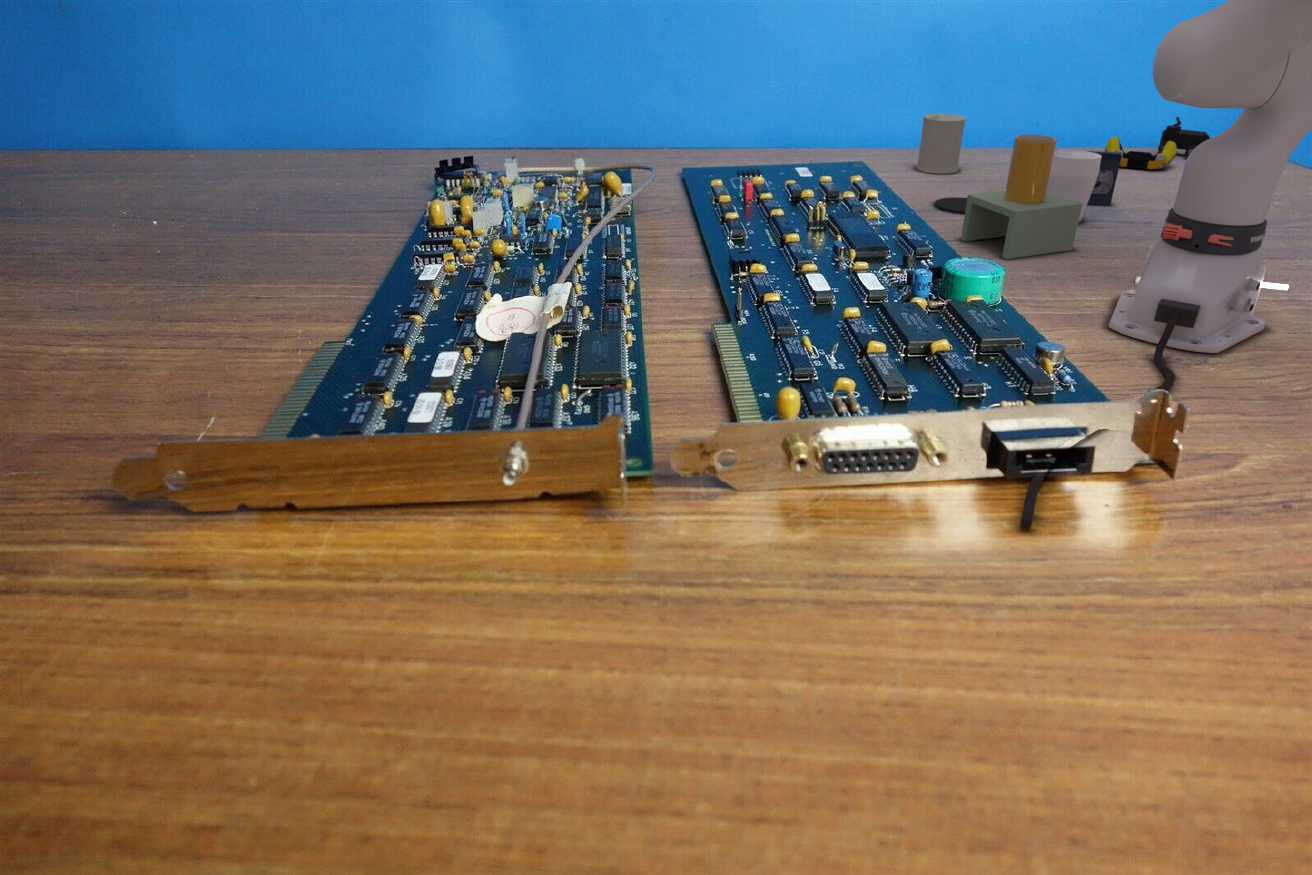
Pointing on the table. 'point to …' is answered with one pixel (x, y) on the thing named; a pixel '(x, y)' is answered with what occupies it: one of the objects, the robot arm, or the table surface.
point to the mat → (952, 204)
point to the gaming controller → (1143, 155)
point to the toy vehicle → (1182, 137)
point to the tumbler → (1030, 168)
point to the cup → (1074, 175)
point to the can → (940, 143)
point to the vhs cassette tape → (1105, 178)
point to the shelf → (1022, 223)
